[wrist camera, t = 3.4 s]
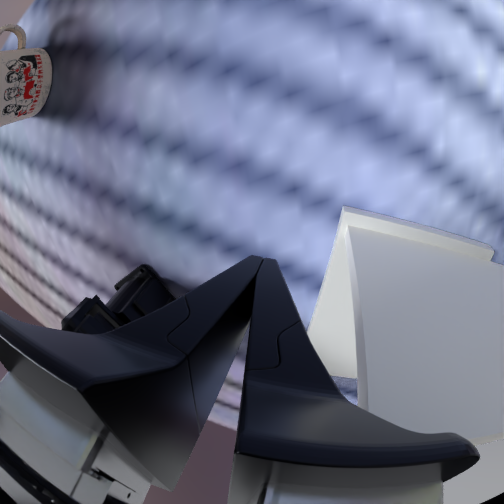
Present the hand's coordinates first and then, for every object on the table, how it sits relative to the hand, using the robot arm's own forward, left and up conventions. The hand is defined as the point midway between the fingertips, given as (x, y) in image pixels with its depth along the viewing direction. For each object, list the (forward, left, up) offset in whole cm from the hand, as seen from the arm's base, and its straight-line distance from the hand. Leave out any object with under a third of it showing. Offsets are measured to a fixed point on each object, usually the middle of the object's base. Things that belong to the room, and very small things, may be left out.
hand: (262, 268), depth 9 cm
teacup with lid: (-15, +28, -13) cm, 34 cm away
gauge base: (+2, -17, -13) cm, 22 cm away
